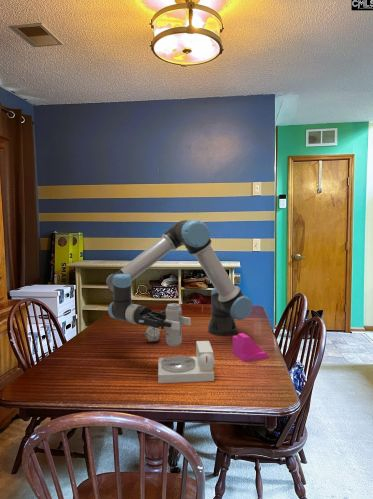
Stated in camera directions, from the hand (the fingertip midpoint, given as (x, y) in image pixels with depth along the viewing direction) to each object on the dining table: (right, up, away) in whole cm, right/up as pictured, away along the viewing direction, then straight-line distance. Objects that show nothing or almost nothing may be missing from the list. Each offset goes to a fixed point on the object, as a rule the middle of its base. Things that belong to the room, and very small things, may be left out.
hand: (184, 324), depth 129 cm
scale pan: (-2, -16, +4) cm, 17 cm away
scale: (0, -19, +4) cm, 20 cm away
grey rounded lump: (-15, -17, +39) cm, 45 cm away
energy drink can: (-4, -9, +4) cm, 10 cm away
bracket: (+28, -18, +21) cm, 40 cm away
